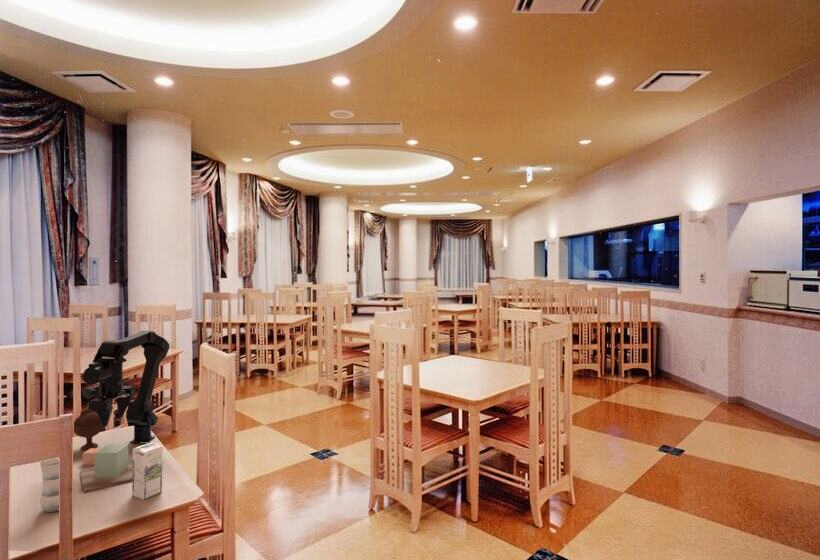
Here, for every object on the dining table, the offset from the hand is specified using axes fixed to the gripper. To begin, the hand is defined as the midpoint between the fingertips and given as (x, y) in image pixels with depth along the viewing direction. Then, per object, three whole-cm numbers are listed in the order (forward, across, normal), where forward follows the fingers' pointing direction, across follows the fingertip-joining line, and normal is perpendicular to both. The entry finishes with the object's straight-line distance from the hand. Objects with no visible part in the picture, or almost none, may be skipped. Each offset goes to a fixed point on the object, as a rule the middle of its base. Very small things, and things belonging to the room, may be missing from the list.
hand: (113, 421), depth 161 cm
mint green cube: (+12, +13, +7) cm, 19 cm away
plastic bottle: (+13, +33, +3) cm, 36 cm away
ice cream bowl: (+13, -9, -14) cm, 21 cm away
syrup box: (+13, +25, +24) cm, 37 cm away
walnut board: (+13, +13, +7) cm, 20 cm away
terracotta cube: (+13, +3, -5) cm, 14 cm away
